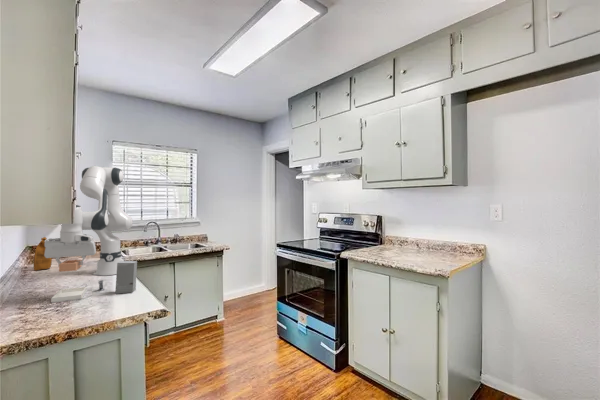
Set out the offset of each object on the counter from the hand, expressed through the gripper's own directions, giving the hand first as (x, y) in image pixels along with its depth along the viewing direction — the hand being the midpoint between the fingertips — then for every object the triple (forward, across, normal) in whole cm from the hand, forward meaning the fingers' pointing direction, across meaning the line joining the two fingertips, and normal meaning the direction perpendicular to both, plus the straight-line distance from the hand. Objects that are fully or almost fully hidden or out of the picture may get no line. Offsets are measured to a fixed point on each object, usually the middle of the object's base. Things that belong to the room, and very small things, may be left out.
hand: (70, 265), depth 148 cm
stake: (+15, +12, +7) cm, 21 cm away
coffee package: (+15, -32, +86) cm, 93 cm away
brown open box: (+2, 0, 0) cm, 2 cm away
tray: (+15, 0, +1) cm, 16 cm away
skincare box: (+16, +24, -1) cm, 29 cm away
